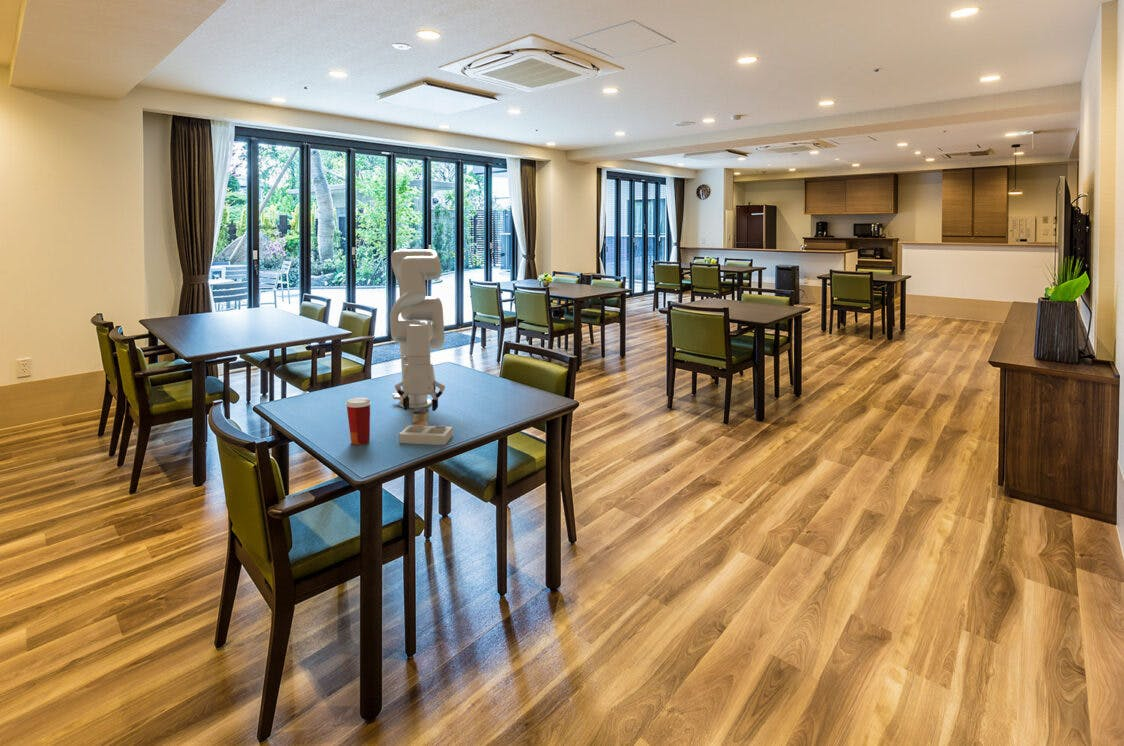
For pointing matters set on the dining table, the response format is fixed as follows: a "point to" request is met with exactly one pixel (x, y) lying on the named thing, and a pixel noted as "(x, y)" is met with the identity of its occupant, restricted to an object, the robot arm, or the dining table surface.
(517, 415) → the dining table surface
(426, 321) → the robot arm
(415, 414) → the plug
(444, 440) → the socket block
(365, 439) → the paper cup
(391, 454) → the dining table surface
